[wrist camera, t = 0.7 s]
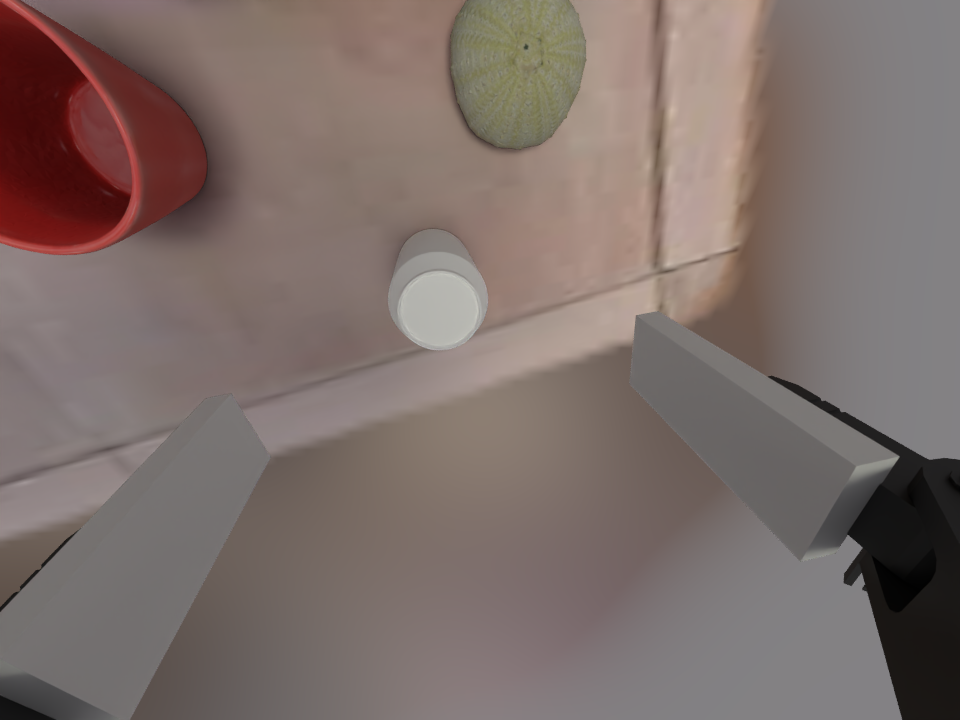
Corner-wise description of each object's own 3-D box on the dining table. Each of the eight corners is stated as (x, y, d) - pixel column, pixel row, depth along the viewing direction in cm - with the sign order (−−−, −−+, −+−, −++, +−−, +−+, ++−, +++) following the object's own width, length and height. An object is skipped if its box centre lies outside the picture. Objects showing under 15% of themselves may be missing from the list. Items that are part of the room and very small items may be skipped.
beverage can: (467, 298, 32) (488, 360, 22) (399, 297, 31) (388, 360, 21) (471, 228, 29) (498, 261, 19) (396, 224, 28) (381, 256, 18)
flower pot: (210, 53, 22) (77, -20, 13) (247, 234, 27) (167, 263, 18) (5, 20, 20) (-302, -91, 11) (87, 221, 25) (-82, 247, 17)
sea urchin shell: (447, 157, 25) (457, 23, 17) (445, 77, 27) (453, -72, 19) (566, 167, 26) (623, 49, 19) (554, 91, 28) (602, -42, 21)
